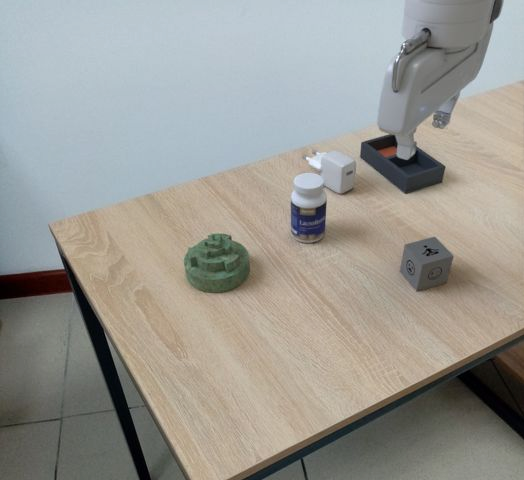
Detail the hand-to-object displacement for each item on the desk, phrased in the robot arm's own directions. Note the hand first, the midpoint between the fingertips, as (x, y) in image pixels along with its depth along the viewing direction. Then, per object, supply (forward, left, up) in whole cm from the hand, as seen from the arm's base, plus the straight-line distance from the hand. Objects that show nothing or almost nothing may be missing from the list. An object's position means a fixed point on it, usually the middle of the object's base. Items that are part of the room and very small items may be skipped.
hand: (423, 140), depth 67 cm
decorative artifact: (+26, -12, -20) cm, 35 cm away
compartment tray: (-16, -24, -20) cm, 36 cm away
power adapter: (-2, -27, -20) cm, 34 cm away
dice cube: (-1, +4, -20) cm, 21 cm away
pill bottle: (+9, -14, -20) cm, 26 cm away
